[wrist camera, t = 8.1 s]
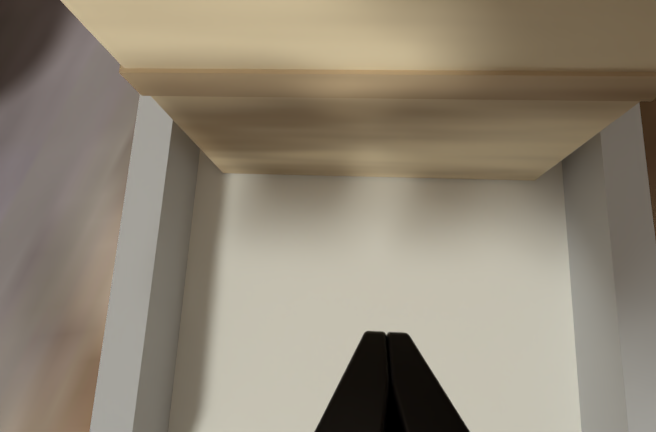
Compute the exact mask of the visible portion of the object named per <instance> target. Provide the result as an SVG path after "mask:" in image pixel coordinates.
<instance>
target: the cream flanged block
mask: <svg viewBox="0 0 656 432" xmlns="http://www.w3.org/2000/svg"><path fill="white" fill-rule="evenodd" d="M61 2H62V3H63V4H64V5H65V6H66V7H67V8H68V9H69V10H70V11H71V12H72V13H73V14H74V15H75V16H76V17H77V19H78V20H79V21H80V22H81V23H82V24H83V25H84V26H85V27H86V28H87V29H88V30H89V31H90V32H91V33H92V34H93V36H94V37H95V38H96V39H97V40H98V41H99V42H100V43H101V44H102V45H103V46H104V47H105V48H106V49H107V50H108V51H109V53H110V54H111V55H112V56H113V57H114V58H115V59H116V60H117V61H118V62H119V63H120V70H119V73H120V74H121V75H122V76H123V77H124V78H125V79H126V80H127V81H128V82H129V83H130V84H131V85H132V86H133V87H134V88H135V89H136V90H137V91H138V92H139V93H140V94H141V96H151V97H152V98H153V99H154V100H155V101H156V102H157V103H158V105H159V106H160V107H161V108H162V109H163V110H164V111H165V112H166V113H167V114H168V115H169V116H170V117H171V118H172V119H173V120H174V122H175V123H176V124H177V125H178V126H179V127H180V128H181V129H182V130H183V131H184V132H185V133H186V134H187V135H188V136H189V137H190V139H191V140H192V141H193V142H194V143H195V144H196V145H197V146H198V147H199V148H200V149H201V150H202V151H203V152H204V153H205V154H206V155H207V157H208V158H209V159H210V160H211V161H212V162H213V163H214V164H215V165H216V166H217V167H218V168H219V169H220V170H221V171H222V172H223V173H235V174H278V175H320V176H362V177H405V178H447V179H489V180H532V181H535V180H536V179H537V178H539V177H540V176H541V175H543V174H544V173H545V172H547V171H548V170H549V169H551V168H552V167H553V166H555V165H556V164H557V163H559V162H560V161H561V160H563V159H564V158H565V157H567V156H568V155H569V154H571V153H572V152H574V151H575V150H576V149H578V148H579V147H580V146H582V145H583V144H584V143H586V142H587V141H588V140H590V139H591V138H592V137H594V136H595V135H596V134H598V133H599V132H600V131H602V130H603V129H604V128H606V127H607V126H608V125H610V124H611V123H612V122H614V121H615V120H616V119H618V118H619V117H620V116H622V115H623V114H624V113H626V112H627V111H628V110H630V109H631V108H632V107H634V106H635V105H636V104H638V103H639V102H640V101H650V102H652V101H653V100H654V99H656V0H61Z"/></svg>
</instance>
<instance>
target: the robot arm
mask: <svg viewBox="0 0 656 432" xmlns="http://www.w3.org/2000/svg"><path fill="white" fill-rule="evenodd" d="M314 432H470V431H469V429H468V428H467V426H466V425H465V423H464V421H463V420H462V418H461V417H460V415H459V413H458V412H457V410H456V409H455V407H454V405H453V404H452V402H451V401H450V399H449V397H448V396H447V394H446V393H445V391H444V389H443V388H442V386H441V385H440V383H439V381H438V380H437V378H436V377H435V375H434V374H433V372H432V370H431V369H430V367H429V366H428V364H427V362H426V361H425V359H424V358H423V356H422V354H421V353H420V351H419V350H418V348H417V346H416V345H415V343H414V342H413V340H412V338H411V337H410V335H409V334H407V333H405V332H388V333H387V335H386V333H385V332H383V331H366V332H365V333H364V334H363V336H362V338H361V340H360V342H359V344H358V346H357V348H356V350H355V352H354V354H353V356H352V358H351V360H350V362H349V364H348V366H347V368H346V370H345V372H344V374H343V376H342V378H341V380H340V382H339V384H338V386H337V388H336V390H335V392H334V394H333V396H332V398H331V400H330V402H329V404H328V406H327V408H326V410H325V412H324V414H323V416H322V418H321V420H320V422H319V424H318V426H317V428H316V429H315V431H314Z"/></svg>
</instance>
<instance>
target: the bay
mask: <svg viewBox="0 0 656 432" xmlns="http://www.w3.org/2000/svg"><path fill="white" fill-rule="evenodd" d="M366 331H383V332H385V333H386V335H387V333H388V332H405V333H407V334H409V335H410V337H411V338H412V340H413V342H414V343H415V345H416V346H417V348H418V350H419V351H420V353H421V354H422V356H423V358H424V359H425V361H426V362H427V364H428V366H429V367H430V369H431V370H432V372H433V374H434V375H435V377H436V378H437V380H438V381H439V383H440V385H441V386H442V388H443V389H444V391H445V393H446V394H447V396H448V397H449V399H450V401H451V402H452V404H453V405H454V407H455V409H456V410H457V412H458V413H459V415H460V417H461V418H462V420H463V421H464V423H465V425H466V426H467V428H468V429H469V431H470V432H656V241H655V232H654V224H653V215H652V207H651V198H650V190H649V181H648V173H647V164H646V156H645V147H644V139H643V130H642V122H641V113H640V104H639V103H638V104H636V105H635V106H634V107H632V108H631V109H630V110H628V111H627V112H626V113H624V114H623V115H622V116H620V117H619V118H618V119H616V120H615V121H614V122H612V123H611V124H610V125H608V126H607V127H606V128H604V129H603V130H602V131H600V132H599V133H598V134H596V135H595V136H594V137H592V138H591V139H590V140H588V141H587V142H586V143H584V144H583V145H582V146H580V147H579V148H578V149H576V150H575V151H574V152H572V153H571V154H569V155H568V156H567V157H565V158H564V159H563V160H561V161H560V162H559V163H557V164H556V165H555V166H553V167H552V168H551V169H549V170H548V171H547V172H545V173H544V174H543V175H541V176H540V177H539V178H537V179H536V180H535V181H532V180H489V179H447V178H405V177H362V176H320V175H278V174H235V173H223V172H222V171H221V170H220V169H219V168H218V167H217V166H216V165H215V164H214V163H213V162H212V161H211V160H210V159H209V158H208V157H207V155H206V154H205V153H204V152H203V151H202V150H201V149H200V148H199V147H198V146H197V145H196V144H195V143H194V142H193V141H192V140H191V139H190V137H189V136H188V135H187V134H186V133H185V132H184V131H183V130H182V129H181V128H180V127H179V126H178V125H177V124H176V123H175V122H174V120H173V119H172V118H171V117H170V116H169V115H168V114H167V113H166V112H165V111H164V110H163V109H162V108H161V107H160V106H159V105H158V103H157V102H156V101H155V100H154V99H153V98H152V97H151V96H141V94H140V98H139V104H138V111H137V118H136V124H135V131H134V138H133V145H132V151H131V158H130V165H129V171H128V178H127V185H126V191H125V198H124V205H123V212H122V218H121V225H120V232H119V238H118V245H117V252H116V258H115V265H114V272H113V279H112V285H111V292H110V299H109V305H108V312H107V319H106V325H105V332H104V339H103V346H102V352H101V359H100V366H99V372H98V379H97V386H96V392H95V399H94V406H93V413H92V419H91V426H90V432H314V431H315V429H316V428H317V426H318V424H319V422H320V420H321V418H322V416H323V414H324V412H325V410H326V408H327V406H328V404H329V402H330V400H331V398H332V396H333V394H334V392H335V390H336V388H337V386H338V384H339V382H340V380H341V378H342V376H343V374H344V372H345V370H346V368H347V366H348V364H349V362H350V360H351V358H352V356H353V354H354V352H355V350H356V348H357V346H358V344H359V342H360V340H361V338H362V336H363V334H364V333H365V332H366Z"/></svg>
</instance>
